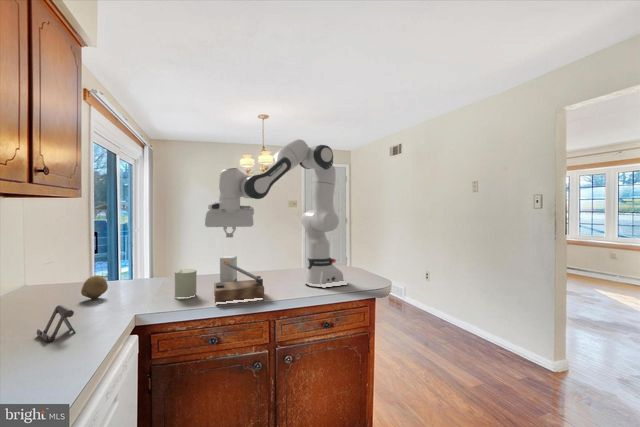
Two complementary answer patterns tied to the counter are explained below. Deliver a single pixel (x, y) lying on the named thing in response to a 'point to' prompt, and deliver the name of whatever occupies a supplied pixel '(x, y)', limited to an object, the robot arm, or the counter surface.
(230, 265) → the strap
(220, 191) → the robot arm
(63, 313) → the portable electronic device stand
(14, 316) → the counter surface
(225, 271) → the skincare box
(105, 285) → the natural sponge
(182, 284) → the can
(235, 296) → the latch base
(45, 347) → the counter surface
